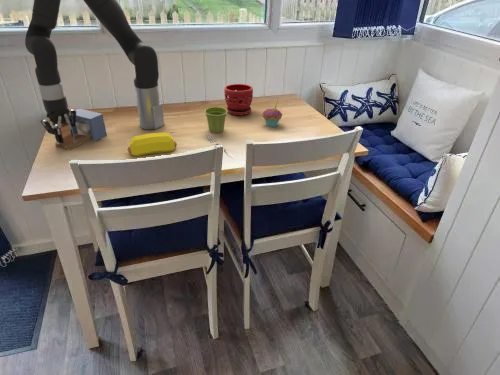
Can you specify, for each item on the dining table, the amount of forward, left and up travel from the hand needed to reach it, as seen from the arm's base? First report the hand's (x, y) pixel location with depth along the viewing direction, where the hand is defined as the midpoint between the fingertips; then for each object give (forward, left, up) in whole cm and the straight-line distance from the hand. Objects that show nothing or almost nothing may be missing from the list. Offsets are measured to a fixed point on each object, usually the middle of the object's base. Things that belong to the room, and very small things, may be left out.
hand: (65, 140), depth 136 cm
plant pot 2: (-40, -64, -2) cm, 76 cm away
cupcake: (-60, -57, -2) cm, 83 cm away
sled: (0, -6, -2) cm, 6 cm away
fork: (-53, -26, -3) cm, 59 cm away
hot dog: (-31, -12, -3) cm, 33 cm away
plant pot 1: (-42, -40, -2) cm, 58 cm away
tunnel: (0, -11, -2) cm, 11 cm away
